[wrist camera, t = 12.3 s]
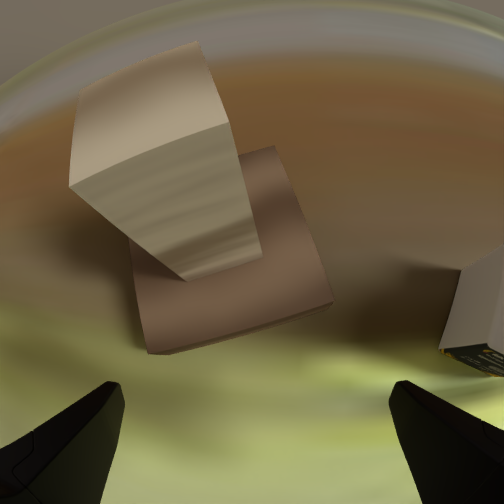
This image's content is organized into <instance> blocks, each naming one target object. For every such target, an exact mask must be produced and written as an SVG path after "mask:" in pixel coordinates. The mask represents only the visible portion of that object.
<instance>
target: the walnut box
mask: <svg viewBox="0 0 504 504" xmlns="http://www.w3.org/2000/svg"><path fill="white" fill-rule="evenodd" d="M238 159H239V163H240V166H241V170H242V174H243V178H244V182H245V186H246V190H247V194H248V198H249V202H250V206H251V210H252V214H253V218H254V222H255V226H256V230H257V234H258V238H259V242H260V246H261V250H262V254H263V258H260V259H257V260H254V261H251V262H248V263H245V264H242V265H239V266H236V267H232V268H229V269H226V270H223V271H220V272H217V273H214V274H211V275H207V276H204V277H201V278H198V279H195V280H192V281H189V282H187V281H185V280H184V279H183V278H181V277H180V276H179V275H177V274H176V273H175V272H173V271H172V270H171V269H169V268H168V267H167V266H166V265H164V264H163V263H162V262H160V261H159V260H158V259H156V258H155V257H154V256H153V255H151V254H150V253H149V252H147V251H146V250H145V249H144V248H142V247H141V246H140V245H138V244H137V243H136V242H135V241H133V240H132V239H131V238H130V237H128V240H129V249H130V256H131V264H132V271H133V278H134V284H135V290H136V296H137V302H138V308H139V313H140V318H141V323H142V328H143V333H144V338H145V343H146V347H147V352H148V354H155V355H171V354H175V353H179V352H183V351H187V350H191V349H195V348H199V347H203V346H207V345H211V344H215V343H219V342H222V341H226V340H230V339H233V338H237V337H240V336H244V335H247V334H251V333H254V332H258V331H261V330H264V329H268V328H271V327H274V326H278V325H281V324H284V323H287V322H290V321H293V320H297V319H300V318H303V317H306V316H309V315H312V314H315V313H318V312H321V311H324V310H327V309H328V308H329V307H330V306H331V305H332V304H333V302H334V301H335V299H334V296H333V293H332V290H331V287H330V284H329V282H328V279H327V276H326V273H325V271H324V268H323V265H322V262H321V260H320V257H319V254H318V252H317V249H316V246H315V244H314V241H313V239H312V236H311V233H310V231H309V228H308V226H307V223H306V221H305V218H304V215H303V213H302V210H301V208H300V205H299V203H298V201H297V198H296V196H295V193H294V191H293V188H292V186H291V184H290V181H289V179H288V176H287V174H286V172H285V169H284V167H283V165H282V162H281V160H280V158H279V155H278V153H277V151H276V149H275V146H270V147H267V148H263V149H259V150H256V151H252V152H249V153H245V154H242V155H239V156H238Z"/></svg>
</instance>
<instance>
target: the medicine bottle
mask: <svg viewBox="0 0 504 504" xmlns="http://www.w3.org/2000/svg"><path fill="white" fill-rule="evenodd" d="M438 350H439V352H441V353H443V354H445V355H447V356H449V357H451V358H454V359H456V360H458V361H460V362H462V363H465V364H467V365H469V366H471V367H474V368H476V369H478V370H480V371H482V372H485V373H487V374H489V375H491V376H494V377H504V243H503V244H502V245H500V246H499V247H497V248H496V249H494V250H493V251H491V252H490V253H488V254H487V255H485V256H483V257H482V258H480V259H479V260H477V261H475V262H474V263H472V264H471V265H469V266H467V267H466V268H464V269H462V271H461V273H460V278H459V282H458V286H457V289H456V293H455V297H454V300H453V304H452V307H451V311H450V314H449V317H448V320H447V324H446V327H445V330H444V333H443V336H442V338H441V341H440V344H439V347H438Z"/></svg>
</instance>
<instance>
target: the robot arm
mask: <svg viewBox="0 0 504 504" xmlns="http://www.w3.org/2000/svg"><path fill="white" fill-rule="evenodd" d="M124 408H125V401H124V397H123V393H122V390H121V386H120V384H119V383H117V382H111V381H107V382H105V383H103V384H102V385H100V386H99V387H97V388H96V389H95V390H93V391H92V392H90V393H89V394H87V395H86V396H84V397H83V398H81V399H80V400H78V401H77V402H75V403H74V404H72V405H71V406H69V407H68V408H66V409H64V410H63V411H61V412H60V413H58V414H57V415H55V416H54V417H52V418H51V419H49V420H48V421H46V422H45V423H43V424H42V425H40V426H38V427H37V428H35V429H34V430H33V431H31V432H29V433H27V434H26V435H24V436H23V437H21V438H19V439H18V440H16V441H14V442H13V443H11V444H9V445H7V446H5V447H3V448H1V449H0V504H100V502H101V498H102V495H103V491H104V488H105V484H106V481H107V477H108V474H109V471H110V467H111V464H112V461H113V458H114V454H115V451H116V448H117V444H118V439H119V434H120V428H121V423H122V418H123V413H124ZM389 408H390V411H391V415H392V418H393V422H394V425H395V429H396V433H397V436H398V439H399V442H400V445H401V447H402V450H403V452H404V455H405V458H406V460H407V463H408V465H409V468H410V471H411V473H412V476H413V479H414V481H415V484H416V487H417V490H418V492H419V495H420V498H421V501H422V504H504V430H501V429H499V428H497V427H495V426H493V425H491V424H489V423H487V422H485V421H481V419H479V418H477V417H475V416H473V415H471V414H469V413H467V412H465V411H464V410H462V409H460V408H458V407H456V406H454V405H452V404H450V403H448V402H447V401H445V400H443V399H441V398H439V397H437V396H435V395H433V394H432V393H430V392H428V391H426V390H424V389H422V388H421V387H419V386H417V385H415V384H413V383H412V382H410V381H408V380H404V381H398V382H396V383H395V385H394V388H393V390H392V393H391V395H390V398H389Z"/></svg>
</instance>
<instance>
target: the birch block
mask: <svg viewBox="0 0 504 504" xmlns="http://www.w3.org/2000/svg"><path fill="white" fill-rule="evenodd" d="M69 187H70V188H71V189H72V190H73V191H74V192H75V193H77V194H78V195H79V196H80V197H81V198H82V199H84V200H85V201H86V202H87V203H88V204H89V205H91V206H92V207H93V208H94V209H95V210H97V211H98V212H99V213H100V214H101V215H103V216H104V217H105V218H106V219H107V220H109V221H110V222H111V223H112V224H114V225H115V226H116V227H117V228H118V229H120V230H121V231H122V232H123V233H125V234H126V235H127V236H128V237H130V238H131V239H132V240H133V241H135V242H136V243H137V244H138V245H140V246H141V247H142V248H144V249H145V250H146V251H147V252H149V253H150V254H151V255H153V256H154V257H155V258H156V259H158V260H159V261H160V262H162V263H163V264H164V265H166V266H167V267H168V268H169V269H171V270H172V271H173V272H175V273H176V274H177V275H179V276H180V277H181V278H183V279H184V280H185V281H187V282H189V281H192V280H195V279H198V278H201V277H204V276H207V275H211V274H214V273H217V272H220V271H223V270H226V269H229V268H232V267H236V266H239V265H242V264H245V263H248V262H251V261H254V260H257V259H260V258H263V254H262V250H261V246H260V242H259V238H258V234H257V230H256V226H255V222H254V218H253V214H252V210H251V206H250V202H249V198H248V194H247V190H246V186H245V182H244V178H243V174H242V170H241V166H240V163H239V159H238V155H237V151H236V147H235V143H234V139H233V135H232V131H231V127H230V124H229V120H228V118H227V115H226V112H225V110H224V107H223V105H222V102H221V99H220V97H219V94H218V92H217V89H216V86H215V84H214V81H213V79H212V76H211V73H210V71H209V68H208V66H207V63H206V61H205V58H204V56H203V53H202V51H201V48H200V46H199V43H198V41H195V42H192V43H189V44H186V45H183V46H180V47H177V48H174V49H171V50H168V51H165V52H163V53H160V54H157V55H155V56H152V57H150V58H147V59H145V60H142V61H140V62H137V63H135V64H133V65H130V66H128V67H126V68H123V69H121V70H119V71H117V72H115V73H113V74H110V75H108V76H106V77H104V78H102V79H100V80H98V81H96V82H94V83H92V84H90V85H88V86H87V87H85V88H83V89H81V90H80V92H79V98H78V104H77V110H76V117H75V124H74V132H73V140H72V150H71V162H70V177H69Z"/></svg>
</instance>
